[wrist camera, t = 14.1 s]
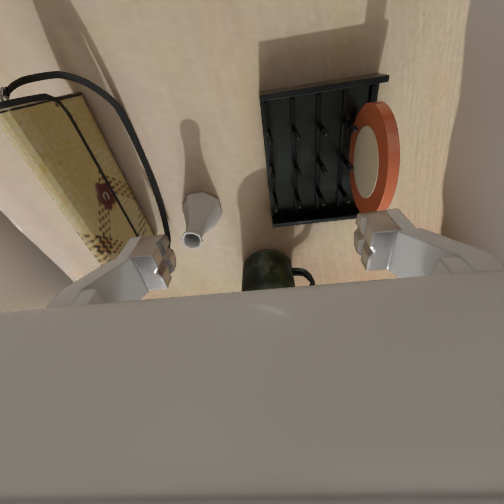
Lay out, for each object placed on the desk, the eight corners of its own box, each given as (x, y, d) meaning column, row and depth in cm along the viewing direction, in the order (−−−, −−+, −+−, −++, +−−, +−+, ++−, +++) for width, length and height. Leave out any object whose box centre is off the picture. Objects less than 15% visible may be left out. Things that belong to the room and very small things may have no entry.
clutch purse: (183, 242, 52) (161, 297, 40) (151, 247, 53) (120, 303, 41) (104, 62, 35) (24, 67, 23) (58, 75, 35) (-43, 86, 24)
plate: (350, 103, 37) (395, 100, 25) (360, 102, 37) (409, 98, 24) (346, 199, 43) (380, 234, 31) (354, 198, 43) (391, 232, 31)
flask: (223, 194, 46) (217, 224, 38) (220, 228, 50) (213, 261, 42) (182, 188, 45) (166, 217, 37) (182, 223, 50) (168, 256, 42)
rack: (259, 91, 36) (259, 98, 31) (377, 73, 35) (400, 76, 29) (271, 216, 48) (273, 237, 43) (360, 206, 47) (374, 227, 41)
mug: (233, 254, 54) (229, 297, 44) (303, 236, 51) (314, 278, 41) (250, 289, 60) (249, 334, 51) (312, 275, 57) (324, 319, 48)
